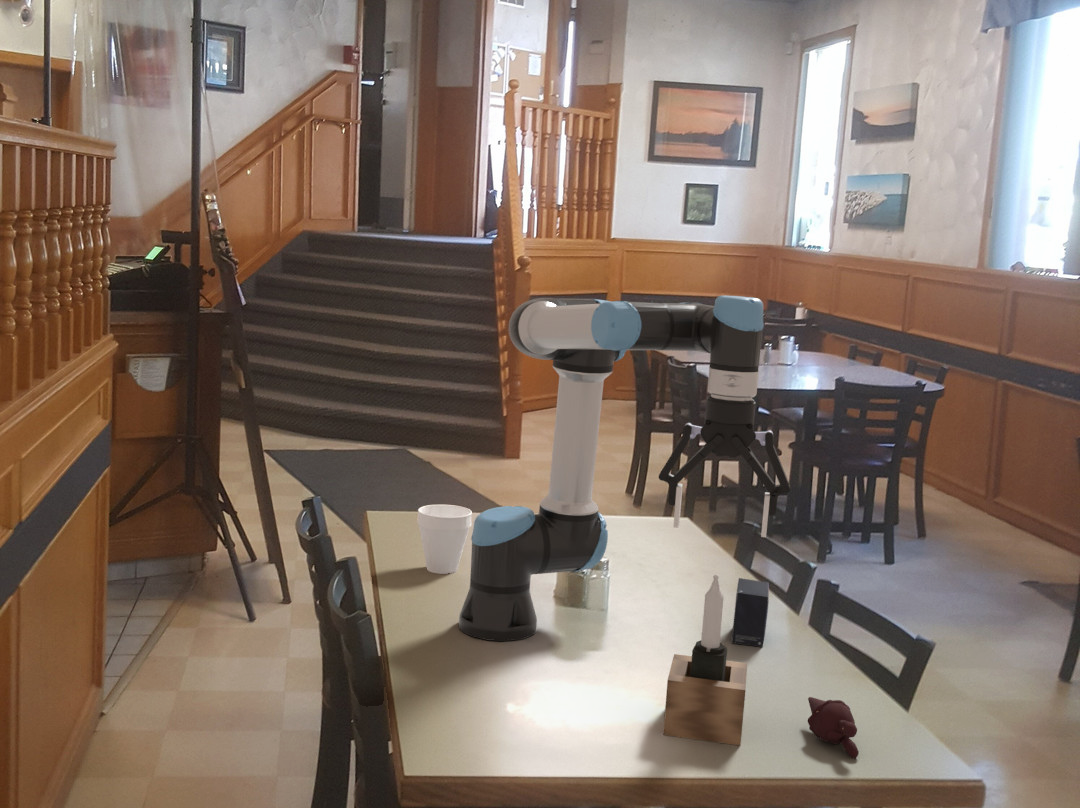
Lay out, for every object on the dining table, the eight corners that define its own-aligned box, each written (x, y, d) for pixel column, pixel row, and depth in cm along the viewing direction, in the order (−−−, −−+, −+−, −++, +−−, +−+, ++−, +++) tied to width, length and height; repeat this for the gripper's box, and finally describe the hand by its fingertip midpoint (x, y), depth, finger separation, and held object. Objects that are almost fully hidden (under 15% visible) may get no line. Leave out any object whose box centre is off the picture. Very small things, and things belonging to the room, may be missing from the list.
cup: (479, 569, 268) (483, 510, 266) (447, 581, 257) (450, 520, 255) (437, 558, 274) (439, 501, 272) (403, 569, 264) (406, 510, 262)
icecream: (786, 685, 191) (830, 731, 177) (828, 673, 192) (875, 718, 178) (790, 722, 193) (834, 771, 179) (831, 710, 194) (878, 757, 180)
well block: (663, 734, 184) (667, 680, 183) (669, 705, 196) (674, 654, 195) (740, 745, 182) (745, 690, 181) (742, 715, 194) (747, 663, 192)
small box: (764, 648, 227) (769, 596, 225) (730, 644, 228) (735, 592, 227) (765, 631, 237) (770, 580, 236) (732, 627, 238) (737, 577, 237)
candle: (721, 721, 191) (734, 572, 187) (716, 733, 186) (729, 581, 182) (690, 716, 192) (703, 568, 188) (684, 728, 187) (697, 576, 184)
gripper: (648, 392, 180) (638, 527, 183) (814, 407, 175) (801, 545, 179) (653, 386, 187) (643, 516, 190) (813, 400, 183) (800, 533, 186)
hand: (719, 530), depth 184 cm, fingers open, 13 cm apart
